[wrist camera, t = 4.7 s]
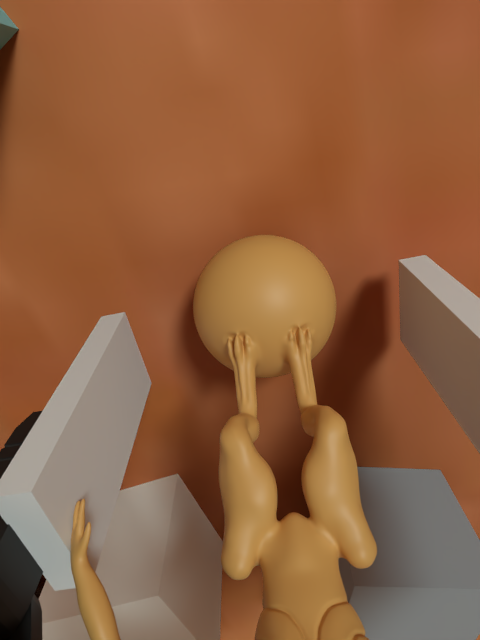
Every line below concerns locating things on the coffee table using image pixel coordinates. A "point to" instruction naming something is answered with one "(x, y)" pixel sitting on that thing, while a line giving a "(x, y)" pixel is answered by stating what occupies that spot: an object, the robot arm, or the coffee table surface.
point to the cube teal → (6, 28)
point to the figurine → (246, 463)
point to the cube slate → (415, 559)
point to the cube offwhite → (151, 570)
